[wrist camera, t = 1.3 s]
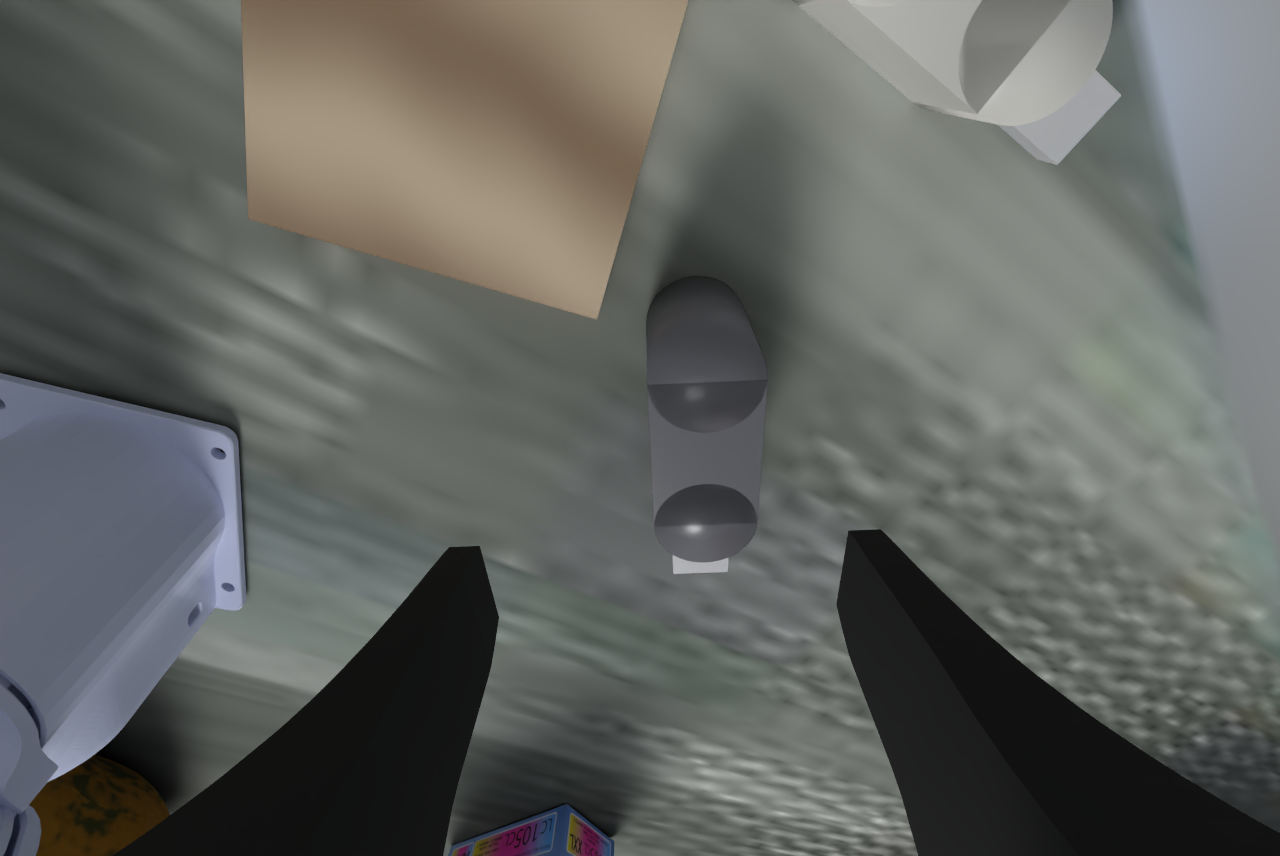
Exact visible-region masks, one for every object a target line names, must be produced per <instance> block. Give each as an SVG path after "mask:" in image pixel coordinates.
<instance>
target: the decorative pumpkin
mask: <svg viewBox="0 0 1280 856" xmlns="http://www.w3.org/2000/svg"><path fill="white" fill-rule="evenodd" d="M29 805H30V806H31V807H33V808H34V810H35V811H36V813H37V815H38V817H39V819H40V824H41V836H40V842H39V848H38V851H37V853H36V856H112V855H114V854H115V853H117V852H118V851H120V850H121V849H123V848H124V847H126V846H127V845H129V844H130V843H132V842H133V841H135V840H136V839H137V838H139V837H140V836H142V835H143V834H145V833H146V832H148V831H149V830H150V829H152V828H153V827H155V826H156V825H157V824H159V823H160V822H162V821H163V820H164V819H166V818H167V817H168V816H170V814H169V812H168V809H167V807H166V804H165V802H164V800H163V799H162V797H161V796H160V795H159V793H158V792H157V791H156V790H155V788H154V787H153V786H152V785H151V784H150V783H149V782H148V781H146V780H145V779H144V778H143V777H142V776H140V775H139V774H138V773H136V772H135V771H133V770H131V769H129V768H127V767H125V766H123V765H121V764H119V763H117V762H115V761H112V760H109V759H107V758H104V757H101V756H97V755H93V756H92V757H90V758H89V759H88V760H86V761H85V762H83V763H81V764H80V765H78V766H77V767H75V768H73V769H72V770H70V771H68V772H66V773H65V774H63V775H61V776H59V777H57V778H55V779H53V780H51V781H49V782H47V783H46V784H45V786H44V787H43V788H42V789H41V790H40V792H39V793H38V794H37V795H36V797H35V798H34V799H33V800H32V802H31V803H30V804H29Z"/></svg>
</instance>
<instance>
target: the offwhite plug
mask: <svg viewBox="0 0 1280 856" xmlns="http://www.w3.org/2000/svg"><path fill="white" fill-rule="evenodd" d="M793 1H794V2H795V3H796V4H797V5H798V6H799V7H800V8H802V9H803V10H804V11H805V12H806V13H808V14H809V15H810V16H811V17H812V18H814V19H815V20H816V21H817V22H818V23H819V24H821V25H822V26H823V27H824V28H825V29H827V30H828V31H829V32H830V33H831V34H833V35H834V36H835V37H836V38H837V39H838V40H840V41H841V42H842V43H843V44H844V45H846V46H847V47H848V48H849V49H850V50H852V51H853V52H854V53H855V54H856V55H858V56H859V57H860V58H861V59H862V60H863V61H865V62H866V63H867V64H868V65H869V66H871V67H872V68H873V69H874V70H875V71H877V72H878V73H879V74H880V75H881V76H882V77H884V78H885V79H886V80H887V81H888V82H890V83H891V84H892V85H893V86H894V87H896V88H897V89H898V90H899V91H900V92H901V93H903V94H904V95H905V96H906V97H907V98H909V99H910V100H911V101H912V102H913V103H915V104H916V105H918V106H919V107H921V108H923V109H926V110H929V111H933V112H938V113H943V114H948V115H953V116H958V117H963V118H968V119H973V120H978V121H983V122H988V123H993V124H997V125H998V126H999V127H1001V128H1002V129H1003V130H1004V131H1005V132H1006V133H1007V134H1009V135H1010V136H1011V137H1012V138H1013V139H1014V140H1015V141H1017V142H1018V143H1019V144H1020V145H1021V146H1022V147H1024V148H1025V149H1026V150H1027V151H1028V152H1029V153H1030V154H1032V155H1033V156H1034V157H1035V158H1036V159H1037V160H1041V161H1045V162H1048V163H1052V164H1056V165H1058V164H1059V163H1060V162H1061V160H1062V159H1063V158H1064V157H1065V156H1066V155H1067V154H1068V153H1069V152H1070V151H1071V150H1072V149H1073V147H1074V146H1075V145H1076V144H1077V143H1078V142H1079V141H1080V140H1081V139H1082V138H1083V137H1084V136H1085V134H1086V133H1087V132H1088V131H1089V130H1090V129H1091V128H1092V127H1093V126H1094V125H1095V124H1096V123H1097V121H1098V120H1099V119H1100V118H1101V117H1102V116H1103V115H1104V114H1105V113H1106V112H1107V111H1108V109H1109V108H1110V107H1111V106H1112V105H1113V104H1114V103H1115V102H1116V101H1117V100H1118V99H1119V98H1120V96H1121V94H1120V93H1119V92H1118V91H1116V90H1115V89H1114V88H1113V87H1112V86H1111V85H1110V84H1109V83H1108V82H1107V81H1106V80H1105V79H1104V78H1103V77H1102V76H1101V75H1100V74H1099V73H1098V72H1097V71H1096V70H1095V69H1096V67H1097V66H1098V64H1099V62H1100V60H1101V58H1102V56H1103V53H1104V51H1105V49H1106V46H1107V43H1108V40H1109V36H1110V32H1111V27H1112V19H1113V2H1112V0H793Z"/></svg>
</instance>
